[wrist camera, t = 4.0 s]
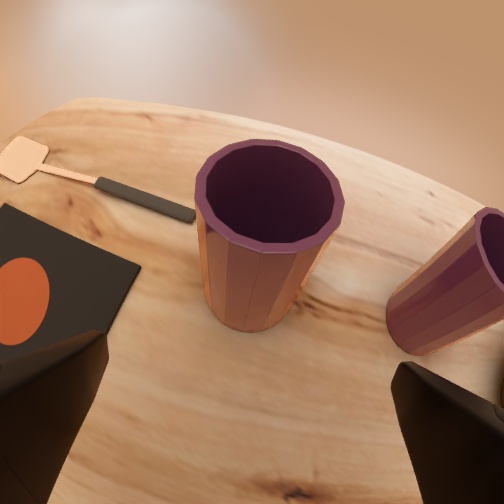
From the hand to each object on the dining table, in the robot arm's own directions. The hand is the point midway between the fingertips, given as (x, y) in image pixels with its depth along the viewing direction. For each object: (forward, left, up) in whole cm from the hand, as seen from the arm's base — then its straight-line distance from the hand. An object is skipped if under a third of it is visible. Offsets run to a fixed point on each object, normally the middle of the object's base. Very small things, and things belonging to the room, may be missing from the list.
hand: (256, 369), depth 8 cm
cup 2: (-13, -10, -13) cm, 22 cm away
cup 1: (+2, -8, -14) cm, 16 cm away
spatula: (+23, -12, -14) cm, 30 cm away
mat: (+21, +2, -13) cm, 25 cm away
